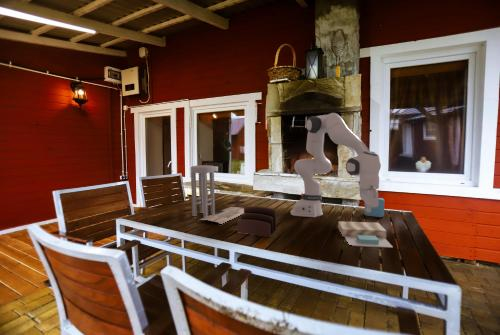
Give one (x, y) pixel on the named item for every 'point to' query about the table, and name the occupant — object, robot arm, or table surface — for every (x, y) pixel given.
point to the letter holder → (257, 221)
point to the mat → (355, 242)
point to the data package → (376, 209)
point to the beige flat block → (361, 229)
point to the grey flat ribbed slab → (225, 215)
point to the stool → (202, 189)
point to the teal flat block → (367, 239)
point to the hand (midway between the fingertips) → (368, 211)
